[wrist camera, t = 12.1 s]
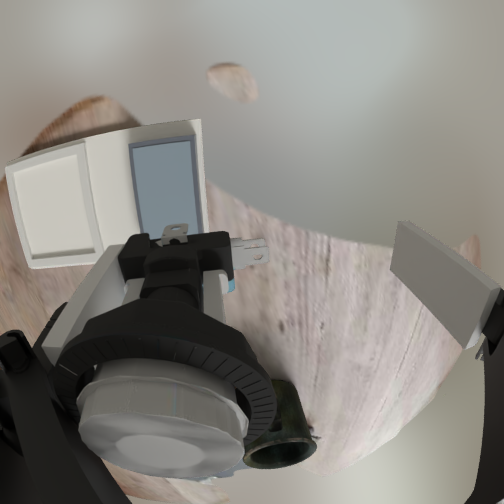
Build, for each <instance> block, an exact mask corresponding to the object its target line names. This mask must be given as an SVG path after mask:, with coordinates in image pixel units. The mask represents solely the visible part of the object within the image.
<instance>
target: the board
mask: <svg viewBox="0 0 504 504" xmlns="http://www.w3.org/2000/svg"><path fill="white" fill-rule="evenodd" d="M195 134H196V138H197V153H198V167H199V180H200V192H201V203H202V214H203V224H204V233H209V232H210V231H209V221H208V209H207V198H206V186H205V172H204V158H203V143H202V127H201V119H192V120H183V121H174V122H167V123H160V124H153V125H146V126H140V127H134V128H129V129H123V130H118V131H113V132H108V133H104V134H99V135H95V136H91V137H87V138H82V139H79V140H75V141H71V142H67V143H64V144H60V145H57V146H53V147H50V148H47V149H44V150H40V151H37V152H34V153H31V154H28V155H26V156H23V157H20V158H17V159H14V160H12V161H9V162H7V167H5V171H6V178H7V184H8V190H9V195H10V200H11V205H12V209H13V214H14V218H15V222H16V226H17V230H18V233H19V237H20V241H21V244H22V247H23V251H24V254H25V257H26V260H27V263H28V266H29V268H30V267H31V268H32V269H40V268H52V267H64V266H75V265H87V264H95V263H96V262H97V261H98V259H99V258H100V257H101V255H102V254H103V253H104V252H105V250H106V249H107V248H108V246H109V245H117V244H124V245H125V243H126V242H127V240H128V239H129V237H130V236H132V235H134V234H140V227H139V222H138V216H137V210H136V203H135V197H134V190H133V182H132V175H131V166H130V157H129V147H128V144H130V143H134V142H140V141H147V140H153V139H161V138H168V137H176V136H185V135H195Z"/></svg>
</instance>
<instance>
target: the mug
mask: <svg viewBox="0 0 504 504" xmlns="http://www.w3.org/2000/svg"><path fill="white" fill-rule="evenodd" d="M271 382H272V385H273V389H274V392H275V396H276V400H277V411H276V415H275V418H274V420H273V422H272V424H271V425H270V427H269V428H268V429H267V430H266V431H265V432H264V433H263V434H262V435H261V436H260V437H259V438H257V439H256V440H254V441H253V442H251V443H250V444H248V445H246V446H244V449H245V454H244V456H243V462H244V463H245V464H246V465H248V466H250V467H253V468H257V469H276V468H282V467H287V466H291V465H294V464H297V463H299V462H301V461H303V460H305V459H307V458H309V457H310V456H311V455H312V454H313V453H314V452H315V451H316V449H317V444H316V443H315V442H314V441H313V440H312V438H311V435H310V431H309V428H308V425H307V422H306V418H305V415H304V412H303V408H302V405H301V402H300V399H299V395H298V392H297V390H296V388H295V387H294V386H292V385H291V384H290V383H287V382H285V381H280V380H271Z"/></svg>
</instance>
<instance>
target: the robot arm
mask: <svg viewBox="0 0 504 504" xmlns="http://www.w3.org/2000/svg"><path fill="white" fill-rule="evenodd" d="M124 246H125V245H124V244H117V245H109V246H108V248H107V249H106V250H105V252H104V253H103V254H102V255H101V257H100V258H99V259H98V261H97V262H96V263H95V265H94V266H93V267H92V269H91V270H90V272H89V273H88V274H87V276H86V277H85V279H84V280H83V281H82V283H81V284H80V286H79V287H78V289H77V290H76V291H75V293H74V294H73V296H72V297H71V299H70V300H69V302H65V303H64V304H62V305H61V306H60V307H59V308H58V309H57V310H56V311H55V312H54V314H53V315H52V317H51V318H50V321H48V323H47V324H46V326H45V327H46V328H44V329H43V331H42V332H41V334H40V336H39V337H38V339H37V341H36V342H35V344H34V346H33V347H32V348H31V346H30V344H29V342H28V341H27V339H26V337H25V335H24V333H23V332H22V331H20V330H11V331H8V332H6V333H4V334H2V335H1V336H0V366H1V368H2V369H3V370H0V504H132V503H131V502H130V500H129V499H128V498H127V496H126V495H125V494H124V492H123V491H122V489H121V488H120V487H119V485H118V484H117V482H116V481H115V480H114V478H113V477H112V475H111V474H110V472H109V471H108V469H107V467H106V466H105V464H104V463H103V461H102V460H101V458H100V457H99V456H97V455H96V454H95V453H94V452H93V451H91V450H90V449H89V448H88V447H87V445H86V444H85V443H84V442H83V441H82V439H81V435H80V433H79V431H78V429H79V423H77V422H76V421H75V420H74V419H73V418H72V417H71V416H70V415H69V414H68V412H67V411H66V410H65V409H64V407H63V406H62V404H61V403H60V401H59V399H58V397H57V395H56V392H55V389H54V385H53V371H54V367H55V364H56V362H57V360H58V358H59V355H60V353H61V351H62V350H63V348H64V347H65V345H66V344H67V343H68V342H69V341H70V340H71V339H73V338H74V337H76V336H77V335H79V334H81V332H82V330H83V328H84V326H85V324H86V322H87V321H88V320H89V319H91V318H93V317H96V316H98V315H100V314H103V313H105V312H107V311H110V310H112V309H115V308H117V307H119V306H121V305H122V302H123V300H124V297H125V291H124V286H125V282H124V279H123V275H122V272H121V268H120V265H119V261H118V255H119V254H120V252H121V250H122V249H123V248H124ZM390 270H391V271H392V272H393V273H394V274H395V275H396V276H397V277H398V278H399V279H400V280H401V281H402V282H403V283H404V284H405V285H406V286H407V287H408V288H409V289H410V290H411V292H412V293H413V294H414V295H415V296H416V297H417V298H418V299H419V300H420V301H421V302H422V303H423V304H424V305H425V306H426V307H427V308H428V309H429V310H430V311H431V313H432V314H433V315H434V316H435V317H436V318H437V319H438V320H439V321H440V322H441V323H442V325H443V326H444V327H445V328H446V329H447V330H448V331H449V332H450V334H451V335H452V336H453V337H454V338H455V339H456V340H457V342H458V343H459V344H460V345H461V346H462V347H463V349H464V350H466V349H468V348H470V347H472V346H474V345H476V343H477V341H478V339H479V337H480V335H481V333H483V334H484V335H485V336H486V337H485V339H484V341H483V343H482V345H481V347H480V349H479V351H478V353H477V354H476V357H475V359H478V357H479V356H480V354H483V356H482V357H481V359H480V360H482V361H484V375H485V409H484V427H483V438H482V448H481V455H480V462H479V468H478V473H477V479H476V484H475V487H474V491H473V492H472V494H471V496H470V497H469V498H468V499H467V501H466V502H465V503H464V504H504V290H503V289H501V286H500V285H499V284H498V283H497V282H495V281H494V280H493V279H491V278H490V277H489V276H488V275H487V274H485V273H484V272H483V271H481V270H480V269H479V268H478V267H476V266H475V265H474V264H472V263H471V262H470V261H468V260H467V259H465V258H464V257H463V256H461V255H460V254H458V253H457V252H456V251H454V250H453V249H451V248H450V247H448V246H447V245H445V244H444V243H443V242H441V241H440V240H438V239H437V238H435V237H434V236H432V235H430V234H429V233H427V232H426V231H424V230H423V229H421V228H420V227H418V226H416V225H415V224H414V223H412V222H410V221H398V224H397V231H396V238H395V244H394V250H393V255H392V261H391V266H390ZM96 366H97V365H94V368H95V369H96Z"/></svg>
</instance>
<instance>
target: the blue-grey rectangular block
mask: <svg viewBox="0 0 504 504" xmlns="http://www.w3.org/2000/svg"><path fill="white" fill-rule="evenodd" d="M128 147H129V157H130V166H131V175H132V182H133V190H134V197H135V203H136V210H137V216H138V222H139V227H140V233H148V234H149V236H150V240H151V239H159V238H161V236H162V233H163V231H164V228H165V227H166V226H168V225H173V224H181V223H187V224H188V231H187V235H192V234H200V233H204V224H203V214H202V203H201V192H200V180H199V167H198V153H197V138H196V134H195V135H185V136H176V137H168V138H161V139H153V140H147V141H140V142H134V143H130V144H128ZM178 229H180V228H173V229H171V230H178Z"/></svg>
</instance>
